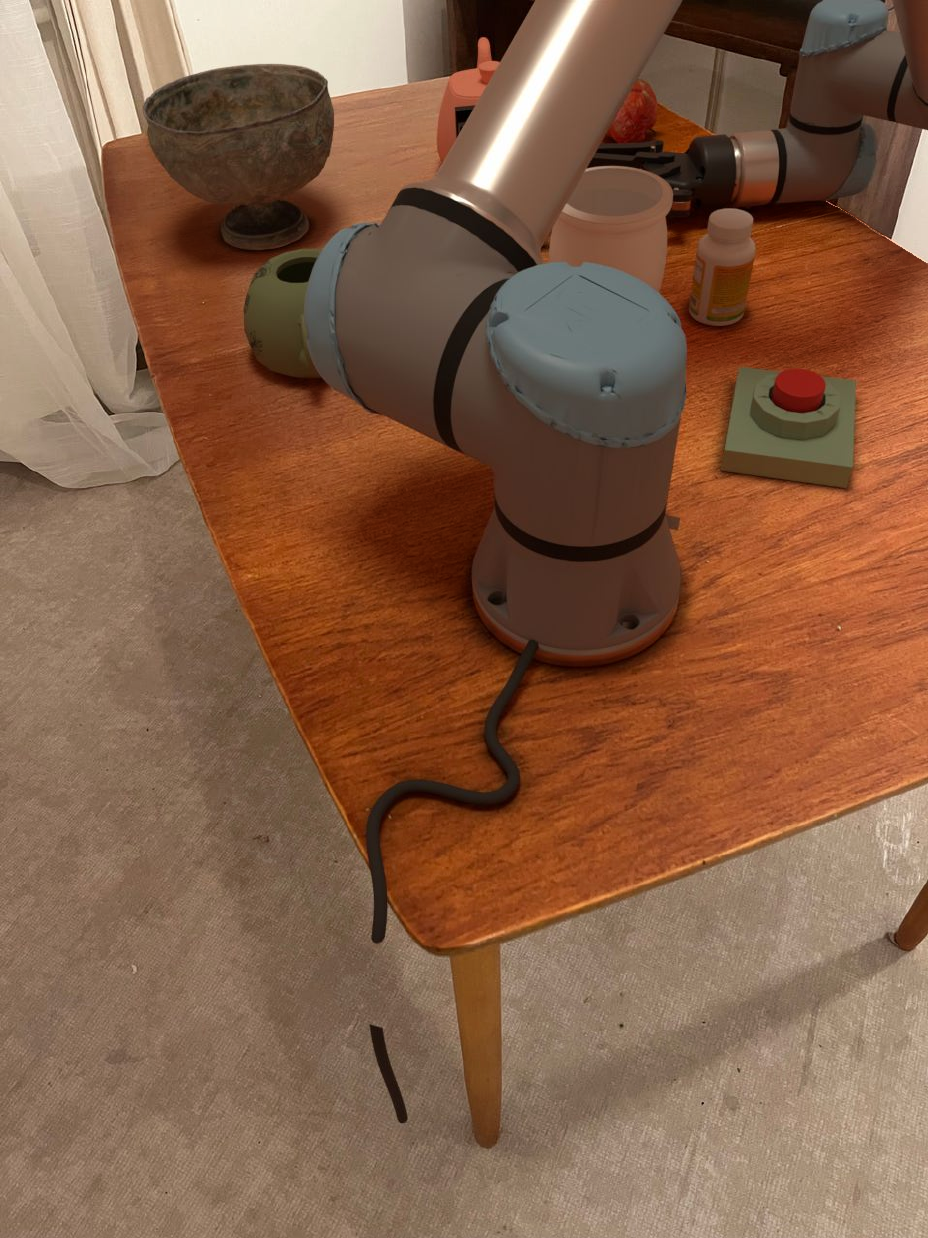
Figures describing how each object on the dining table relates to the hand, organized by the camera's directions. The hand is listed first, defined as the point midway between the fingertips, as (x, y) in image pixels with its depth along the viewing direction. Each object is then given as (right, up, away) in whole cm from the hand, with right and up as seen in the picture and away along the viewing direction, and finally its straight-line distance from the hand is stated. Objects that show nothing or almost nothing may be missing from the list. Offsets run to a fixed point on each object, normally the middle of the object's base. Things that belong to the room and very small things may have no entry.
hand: (521, 191), depth 107 cm
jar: (+7, -20, -12) cm, 25 cm away
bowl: (-30, -2, +7) cm, 30 cm away
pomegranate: (+15, +14, +18) cm, 27 cm away
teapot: (-3, +9, +14) cm, 17 cm away
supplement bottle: (+19, -16, -9) cm, 27 cm away
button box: (+21, -31, -23) cm, 44 cm away
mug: (-21, -21, -12) cm, 32 cm away
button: (+21, -28, -25) cm, 44 cm away
